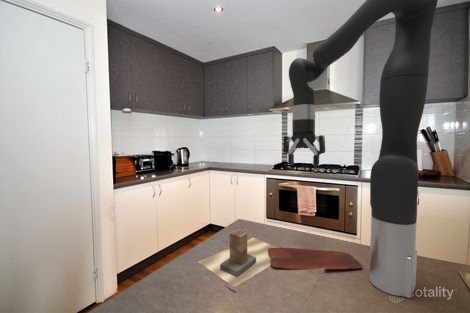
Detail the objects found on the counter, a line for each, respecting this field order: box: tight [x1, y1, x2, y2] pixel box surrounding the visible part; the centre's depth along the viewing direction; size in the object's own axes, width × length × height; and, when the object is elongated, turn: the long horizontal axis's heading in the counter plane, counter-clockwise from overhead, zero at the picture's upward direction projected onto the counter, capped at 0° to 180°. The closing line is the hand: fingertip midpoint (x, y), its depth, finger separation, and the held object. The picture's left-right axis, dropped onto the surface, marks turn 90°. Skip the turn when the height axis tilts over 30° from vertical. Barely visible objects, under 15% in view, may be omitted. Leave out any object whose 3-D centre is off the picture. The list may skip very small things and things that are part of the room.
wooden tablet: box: [268, 247, 363, 270], centre depth 67 cm, size 27×10×2 cm, turn 92°
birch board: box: [198, 237, 278, 294], centre depth 69 cm, size 16×24×2 cm, turn 132°
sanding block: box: [220, 229, 256, 277], centre depth 64 cm, size 6×9×10 cm, turn 142°
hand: (303, 165), depth 80 cm, fingers open, 8 cm apart
